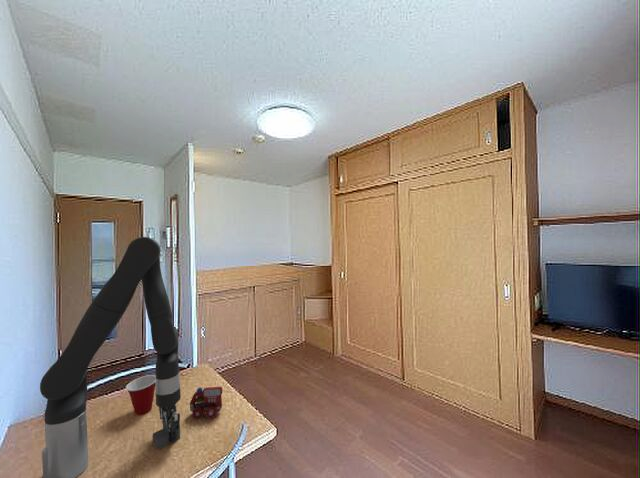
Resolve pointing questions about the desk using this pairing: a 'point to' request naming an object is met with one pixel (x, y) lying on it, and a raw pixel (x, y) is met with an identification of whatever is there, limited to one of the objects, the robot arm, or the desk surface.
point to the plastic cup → (142, 393)
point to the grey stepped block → (163, 436)
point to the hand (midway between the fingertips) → (169, 436)
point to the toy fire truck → (206, 402)
